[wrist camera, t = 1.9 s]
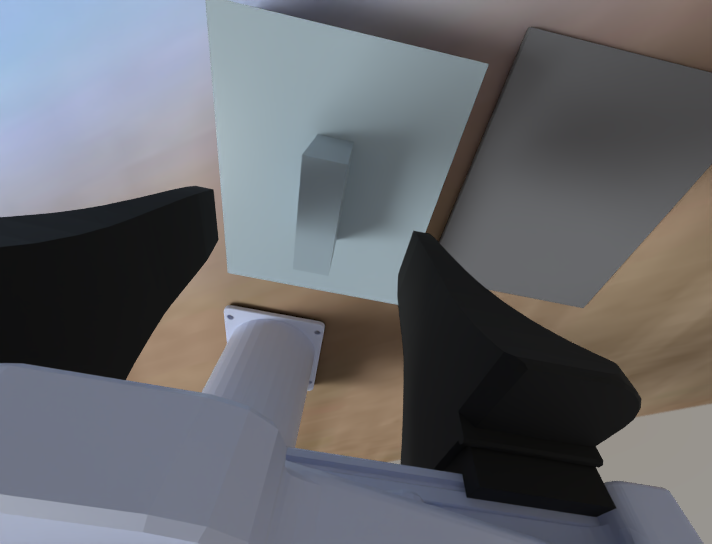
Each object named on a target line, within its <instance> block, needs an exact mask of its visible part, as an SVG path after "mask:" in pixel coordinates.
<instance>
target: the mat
mask: <svg viewBox="0 0 712 544" xmlns="http://www.w3.org/2000/svg"><path fill="white" fill-rule="evenodd" d="M711 164H712V73H711V72H707V71H703V70H699V69H695V68H691V67H687V66H683V65H679V64H675V63H671V62H667V61H663V60H659V59H655V58H651V57H647V56H643V55H639V54H635V53H631V52H627V51H623V50H619V49H616V48H612V47H608V46H604V45H600V44H596V43H592V42H588V41H584V40H580V39H576V38H572V37H568V36H564V35H560V34H556V33H552V32H548V31H544V30H540V29H536V28H532V27H529V28H528V30H527V32H526V35H525V37H524V39H523V42H522V44H521V47H520V49H519V51H518V54H517V56H516V59H515V61H514V63H513V66H512V68H511V70H510V73H509V75H508V78H507V80H506V82H505V85H504V87H503V90H502V92H501V94H500V97H499V99H498V102H497V104H496V106H495V109H494V111H493V114H492V116H491V118H490V121H489V123H488V126H487V128H486V130H485V133H484V135H483V138H482V140H481V142H480V145H479V147H478V150H477V152H476V154H475V157H474V159H473V162H472V164H471V166H470V169H469V171H468V174H467V176H466V178H465V181H464V183H463V186H462V188H461V190H460V193H459V195H458V198H457V200H456V202H455V205H454V207H453V210H452V212H451V214H450V217H449V219H448V222H447V224H446V226H445V229H444V231H443V234H442V236H441V238H440V241H439V243H440V244H441V245H442V246H443V247H444V248H445V250H446V251H447V252H448V253H449V254H450V255H451V256H452V257H453V258H454V259H455V260H456V261H457V262H458V263H459V264H460V265H461V266H462V267H463V268H464V269H465V270H466V271H467V272H468V273H469V274H470V275H471V276H472V277H474V278H475V279H476V280H477V281H478V282H479V283H480V284H481V285H483V286H484V287H485V288H486V289H488V290H493V291H498V292H503V293H509V294H514V295H519V296H524V297H529V298H534V299H539V300H545V301H550V302H555V303H560V304H565V305H570V306H575V307H580V308H584V307H585V306H586V304H587V303H588V302H589V301H590V300H591V299H592V298H593V297H594V295H595V294H596V293H597V292H598V291H599V290H600V289H601V288H602V286H603V285H604V284H605V283H606V282H607V281H608V280H609V279H610V278H611V276H612V275H613V274H614V273H615V272H616V271H617V270H618V269H619V267H620V266H621V265H622V264H623V263H624V262H625V261H626V260H627V258H628V257H629V256H630V255H631V254H632V253H633V252H634V251H635V249H636V248H637V247H638V246H639V245H640V244H641V243H642V242H643V240H644V239H645V238H646V237H647V236H648V235H649V234H650V233H651V232H652V230H653V229H654V228H655V227H656V226H657V225H658V224H659V223H660V221H661V220H662V219H663V218H664V217H665V216H666V215H667V214H668V212H669V211H670V210H671V209H672V208H673V207H674V206H675V205H676V203H677V202H678V201H679V200H680V199H681V198H682V197H683V196H684V195H685V193H686V192H687V191H688V190H689V189H690V188H691V187H692V186H693V184H694V183H695V182H696V181H697V180H698V179H699V178H700V177H701V175H702V174H703V173H704V172H705V171H706V170H707V169H708V168H709V166H710V165H711Z"/></svg>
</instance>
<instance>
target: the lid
mask: <svg viewBox="0 0 712 544" xmlns="http://www.w3.org/2000/svg"><path fill="white" fill-rule="evenodd" d="M205 1H206V13H207V25H208V37H209V49H210V61H211V73H212V86H213V98H214V110H215V122H216V134H217V146H218V158H219V171H220V183H221V195H222V207H223V219H224V231H225V243H226V255H227V268H228V273H231V274H237V275H242V276H247V277H253V278H258V279H263V280H268V281H274V282H279V283H284V284H290V285H295V286H300V287H306V288H311V289H316V290H322V291H327V292H332V293H338V294H343V295H348V296H354V297H359V298H364V299H370V300H375V301H380V302H386V303H391V304H396V305H398V298H397V287H398V273H399V270H400V267H401V265H402V262H403V259H404V256H405V253H406V250H407V247H408V245H409V242H410V239H411V236H412V233H413V231H418V232H423V233H425V232H426V230H427V227H428V224H429V222H430V219H431V216H432V214H433V211H434V208H435V206H436V203H437V200H438V198H439V195H440V192H441V190H442V187H443V184H444V182H445V179H446V176H447V174H448V171H449V168H450V166H451V163H452V160H453V158H454V155H455V153H456V150H457V147H458V145H459V142H460V139H461V137H462V134H463V131H464V129H465V126H466V123H467V121H468V118H469V115H470V113H471V110H472V107H473V105H474V102H475V99H476V97H477V94H478V91H479V89H480V86H481V83H482V81H483V78H484V75H485V73H486V70H487V68H488V65H489V64H487V63H483V62H479V61H475V60H470V59H466V58H462V57H458V56H454V55H450V54H446V53H442V52H437V51H433V50H429V49H425V48H421V47H417V46H413V45H409V44H404V43H400V42H396V41H392V40H388V39H384V38H380V37H376V36H371V35H367V34H363V33H359V32H355V31H351V30H347V29H343V28H338V27H334V26H330V25H326V24H322V23H318V22H314V21H310V20H305V19H301V18H297V17H293V16H289V15H285V14H281V13H277V12H272V11H268V10H264V9H260V8H256V7H252V6H248V5H244V4H239V3H235V2H231V1H227V0H205Z"/></svg>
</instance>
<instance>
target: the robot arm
mask: <svg viewBox="0 0 712 544" xmlns="http://www.w3.org/2000/svg"><path fill="white" fill-rule="evenodd" d="M217 241H218V230H217V220H216V211H215V201H214V191H213V189H208V188H203V187H198V186H190V187H184V188H179V189H174V190H169V191H165V192H161V193H157V194H153V195H149V196H144V197H140V198H136V199H131V200H127V201H122V202H117V203H112V204H108V205H103V206H97V207H92V208H86V209H79V210H72V211H65V212H57V213H48V214H36V215H25V216H13V217H0V544H704V543H703V542H702V540H701V539H700V537H699V536H698V534H697V533H696V531H695V529H694V528H693V526H692V525H691V523H690V522H689V520H688V519H687V517H686V516H685V514H684V513H683V511H682V510H681V508H680V506H679V505H678V504H677V502H676V500H675V499H674V497H673V496H672V495H671V493H670V491H668V490H667V489H665V488H662V487H655V486H649V485H643V484H637V483H630V482H623V481H612V482H605V483H603V481H602V479H601V477H600V475H599V473H598V471H597V469H596V467H600V466H602V465H603V459H602V458H601V456H600V454H599V452H598V450H597V448H596V445H598V444H600V443H601V442H603V441H604V440H606V439H607V438H609V437H610V436H612V435H613V434H615V433H616V432H618V431H619V430H621V429H623V428H624V427H625V426H626V425H628V424H629V423H630V422H631V421H632V420H634V418H635V417H636V415H637V413H638V412H639V410H640V408H641V397H640V396H639V394H638V392H637V391H636V389H635V388H634V387H633V385H632V384H631V383H630V381H629V380H628V378H627V377H626V376H625V374H624V373H623V372H622V370H621V369H620V368H619V366H618V365H617V364H616V363H614V362H612V361H610V360H608V359H606V358H603V357H601V356H599V355H597V354H595V353H593V352H591V351H589V350H587V349H584V348H582V347H580V346H578V345H576V344H574V343H572V342H570V341H568V340H566V339H564V338H562V337H560V336H559V335H557V334H555V333H553V332H551V331H549V330H548V329H546V328H544V327H542V326H541V325H539V324H537V323H535V322H534V321H532V320H530V319H529V318H527V317H526V316H524V315H523V314H521V313H520V312H518V311H516V310H515V309H513V308H512V307H510V306H509V305H508V304H506V303H505V302H503V301H502V300H500V299H499V298H498V297H497V296H495V295H494V294H493V293H491V292H490V291H489V290H488V289H486V288H485V287H484V286H483V285H481V284H480V283H479V282H478V281H477V280H476V279H475V278H474V277H472V276H471V275H470V274H469V273H468V272H467V271H466V270H465V269H464V268H463V267H462V266H461V265H460V264H459V263H458V262H457V261H456V260H455V259H454V258H453V257H452V256H451V255H450V254H449V253H448V252H447V251H446V250H445V248H444V247H443V246H442V245H441V244H440V243H439V242H438V241H437V240H436V239H435V238H434V237H433V236H432V235H431V234H428V233H423V232H418V231H413V233H412V236H411V239H410V242H409V245H408V247H407V250H406V253H405V256H404V259H403V262H402V265H401V267H400V270H399V273H398V287H397V298H398V308H399V317H400V325H401V334H402V343H403V355H404V393H403V428H402V449H401V465H400V464H394V463H387V462H381V461H374V460H368V459H362V458H355V457H349V456H342V455H336V454H330V453H323V452H317V451H310V450H304V449H298V448H295V445H296V440H297V436H298V431H299V426H300V422H301V417H302V412H303V408H304V403H305V398H306V394H307V390H309V391H310V390H312V389H313V387H314V382H315V377H316V371H317V366H318V361H319V355H320V350H321V345H322V339H323V334H324V329H325V325H324V323H322V322H320V321H315V320H310V319H304V318H299V317H293V316H288V315H282V314H277V313H271V312H266V311H260V310H255V309H249V308H244V307H238V306H233V305H228V306H226V307H225V309H224V318H225V328H226V337H227V345H226V347H225V349H224V351H223V353H222V355H221V357H220V358H219V360H218V362H217V364H216V366H215V368H214V370H213V372H212V374H211V376H210V378H209V379H208V381H207V383H206V385H205V387H204V389H203V391H202V393H200V392H194V391H188V390H182V389H176V388H170V387H163V386H157V385H151V384H145V383H139V382H133V381H127V380H126V378H127V376H128V374H129V373H130V371H131V369H132V367H133V365H134V363H135V362H136V360H137V358H138V356H139V355H140V353H141V351H142V350H143V348H144V346H145V344H146V343H147V341H148V339H149V338H150V336H151V334H152V333H153V331H154V330H155V328H156V326H157V325H158V323H159V322H160V320H161V318H162V317H163V315H164V314H165V312H166V311H167V310H168V308H169V307H170V306H171V304H172V303H173V302H174V301H175V299H176V298H177V297H178V296H179V294H180V293H181V292H182V291H183V290H184V288H185V287H186V286H187V285H188V283H189V282H190V281H191V280H192V278H193V277H194V276H195V275H196V274H197V272H198V271H199V270H200V268H201V267H202V266H203V265H204V263H205V262H206V261H207V259H208V258H209V256H210V254H211V252H212V251H213V249H214V247H215V245H216V243H217ZM231 315H232V316H231Z"/></svg>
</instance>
